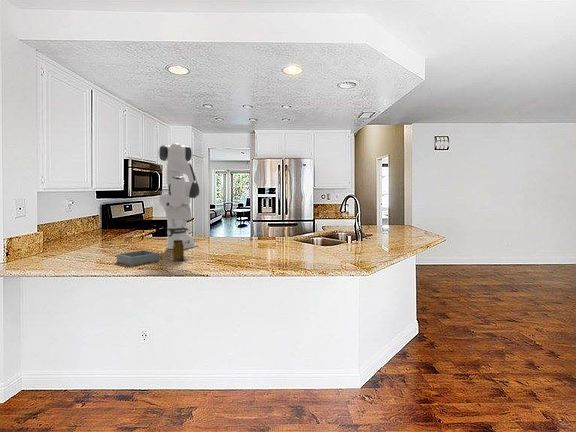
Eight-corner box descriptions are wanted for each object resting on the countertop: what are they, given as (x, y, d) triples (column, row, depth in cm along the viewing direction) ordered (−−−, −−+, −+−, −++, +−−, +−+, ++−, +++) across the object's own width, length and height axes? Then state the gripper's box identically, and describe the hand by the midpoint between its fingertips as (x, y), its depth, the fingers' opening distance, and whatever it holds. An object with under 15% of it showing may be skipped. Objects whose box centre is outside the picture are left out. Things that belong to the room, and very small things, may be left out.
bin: (143, 257, 266) (143, 250, 265) (159, 261, 255) (159, 253, 255) (116, 262, 253) (116, 254, 252) (132, 265, 242) (131, 257, 241)
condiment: (174, 259, 261) (174, 239, 260) (188, 259, 261) (188, 239, 260) (171, 261, 254) (170, 241, 253) (185, 261, 254) (185, 241, 253)
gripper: (193, 203, 250) (194, 227, 251) (172, 202, 263) (173, 225, 264) (184, 204, 245) (185, 228, 246) (163, 203, 258) (164, 226, 259)
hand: (178, 226), depth 255 cm, fingers open, 8 cm apart
